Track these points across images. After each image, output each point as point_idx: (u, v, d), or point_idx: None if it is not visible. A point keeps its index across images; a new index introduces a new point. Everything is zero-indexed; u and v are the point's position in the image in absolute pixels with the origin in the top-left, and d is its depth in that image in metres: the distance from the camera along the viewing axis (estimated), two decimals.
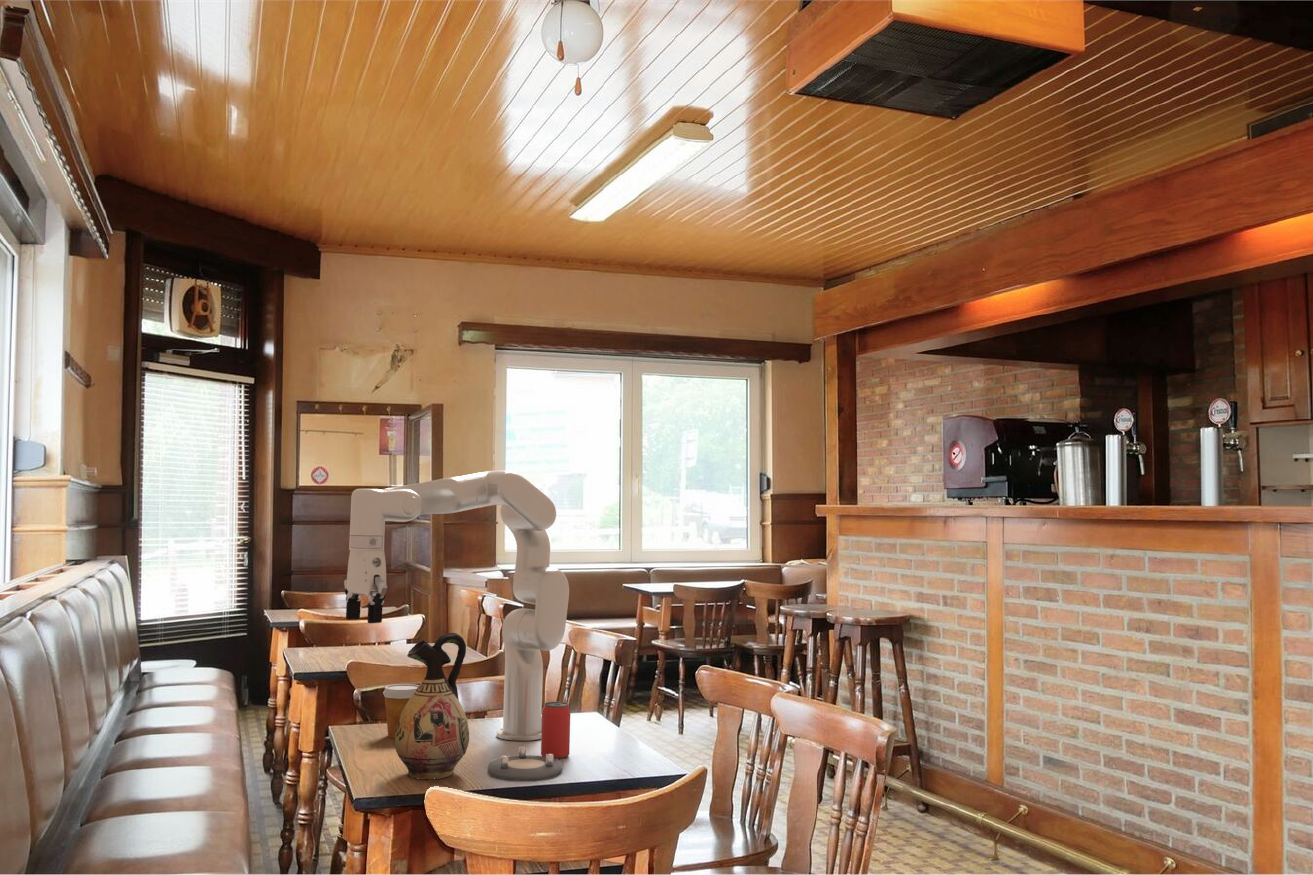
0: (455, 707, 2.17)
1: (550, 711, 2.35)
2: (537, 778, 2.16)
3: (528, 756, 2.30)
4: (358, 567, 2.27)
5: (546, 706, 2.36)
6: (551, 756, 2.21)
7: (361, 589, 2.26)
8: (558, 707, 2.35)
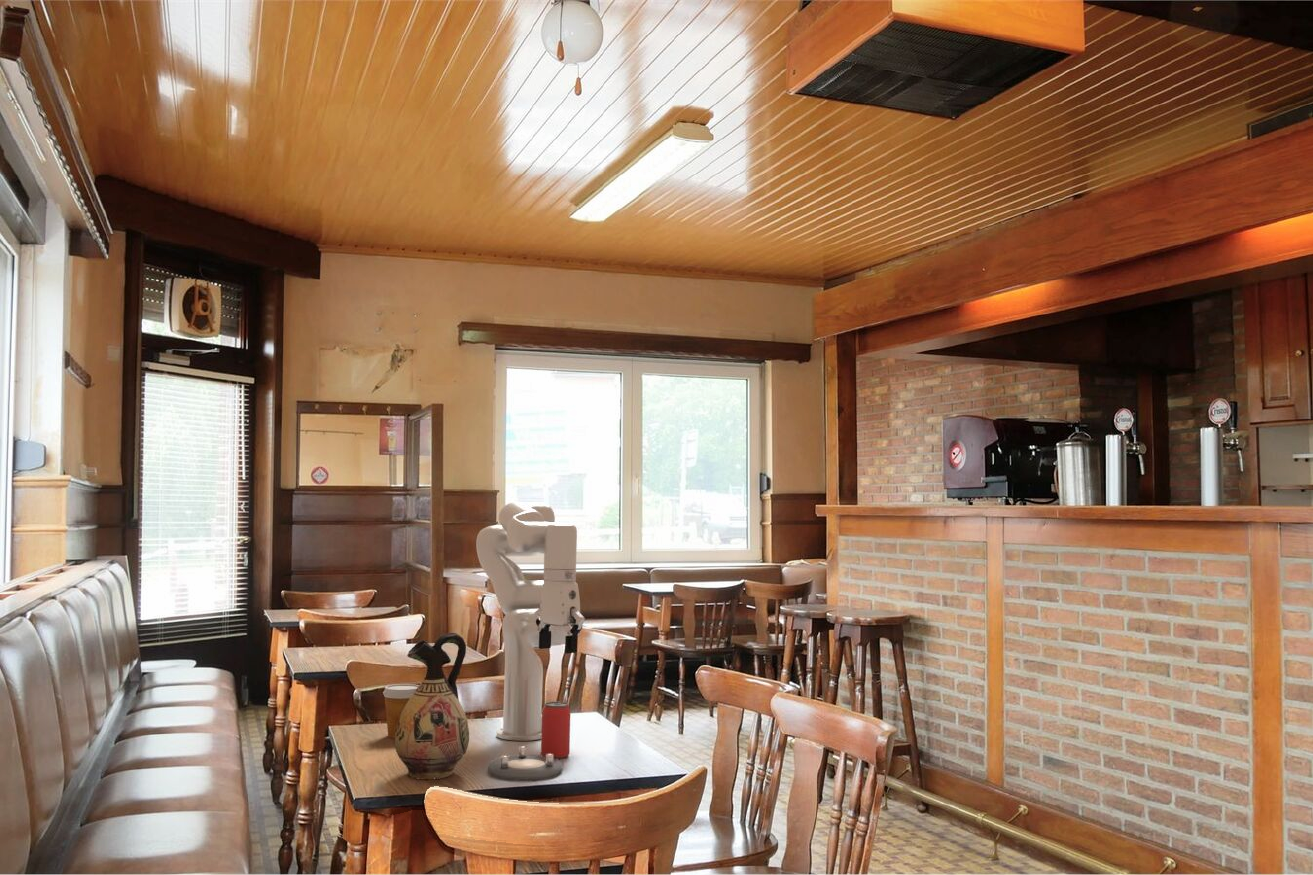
0: (455, 707, 2.17)
1: (550, 711, 2.35)
2: (537, 778, 2.16)
3: (528, 756, 2.30)
4: (554, 599, 2.37)
5: (546, 706, 2.36)
6: (551, 756, 2.21)
7: (557, 621, 2.36)
8: (558, 707, 2.35)
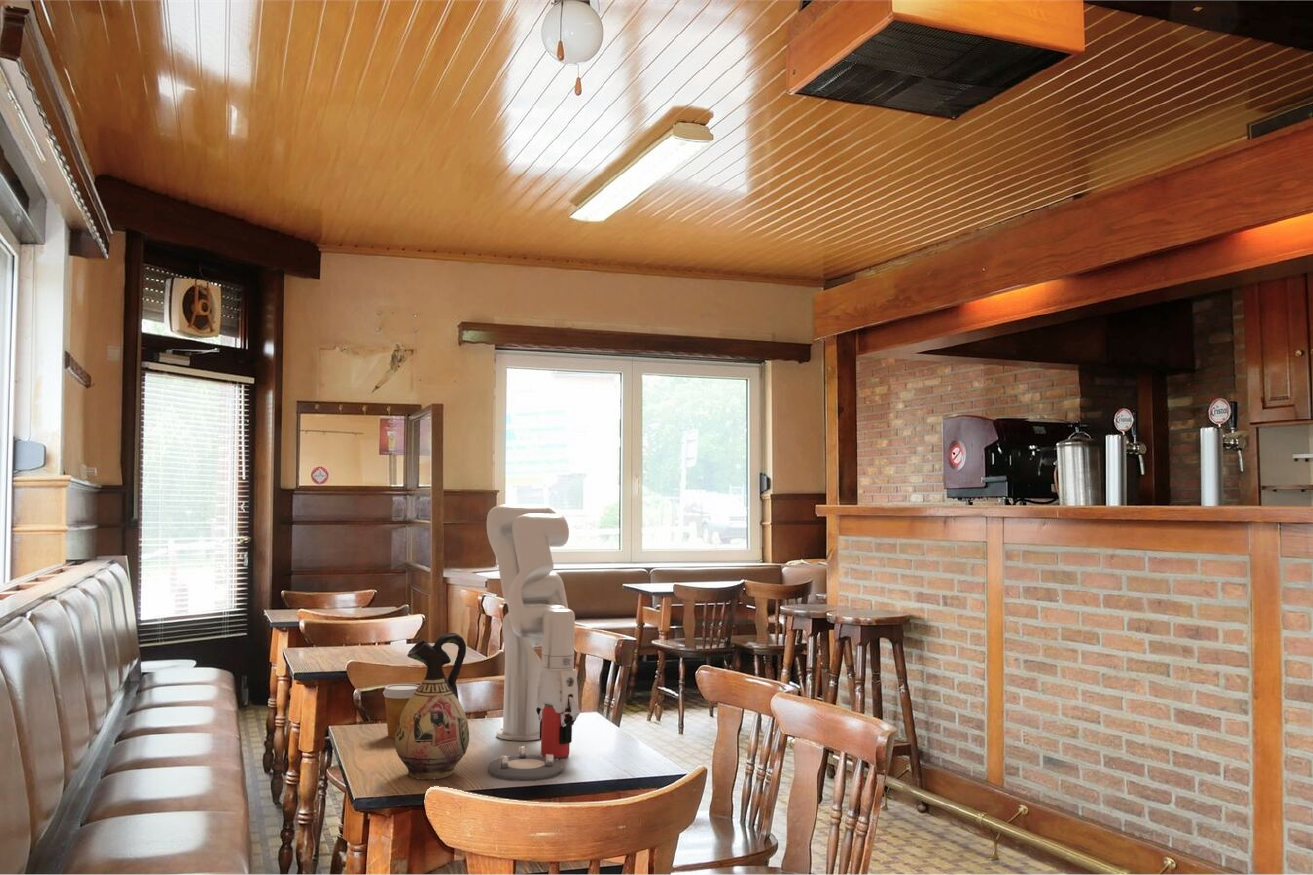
0: (455, 707, 2.17)
1: (550, 711, 2.35)
2: (537, 778, 2.16)
3: (528, 756, 2.30)
4: (551, 686, 2.36)
5: (546, 706, 2.36)
6: (551, 756, 2.21)
7: (555, 708, 2.35)
8: None
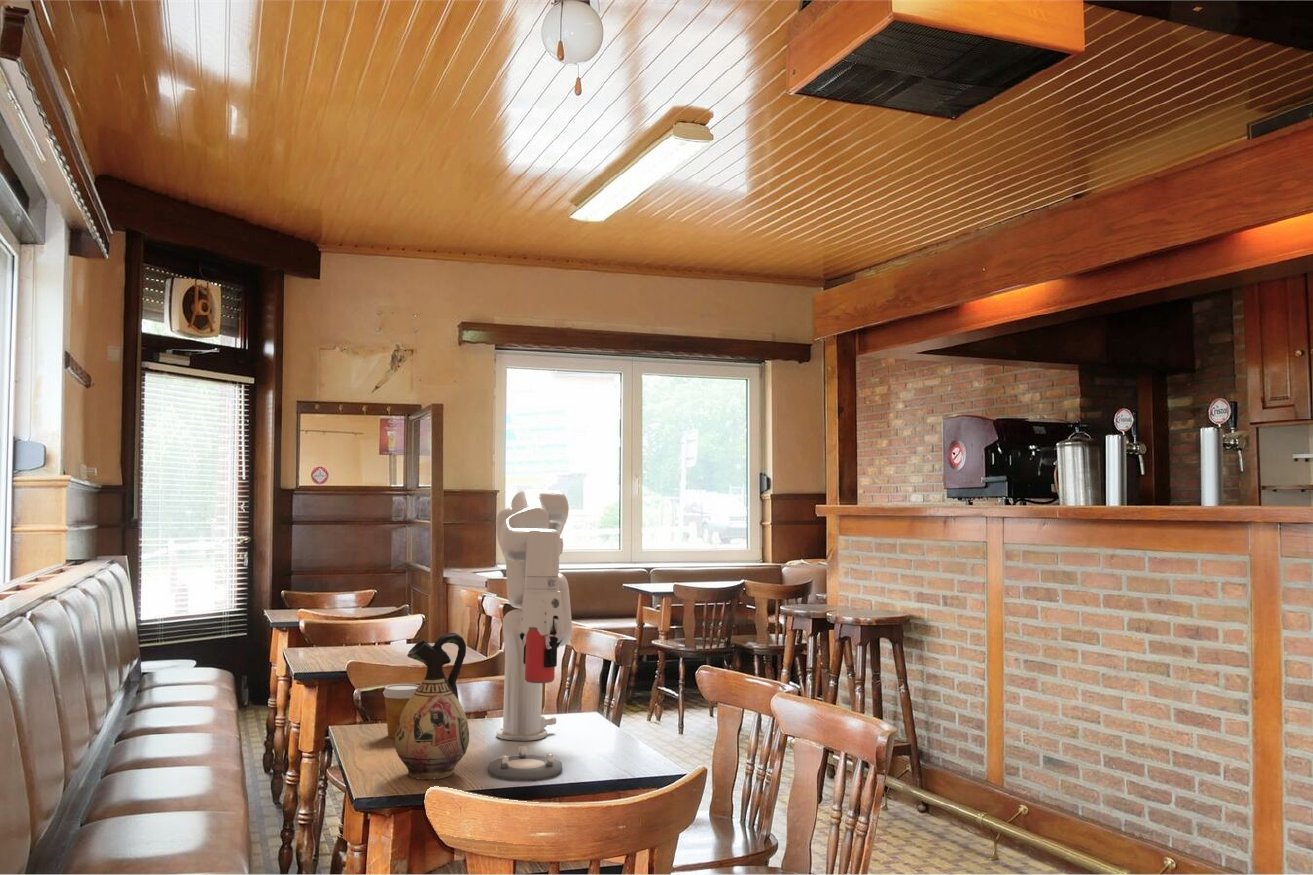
0: (455, 707, 2.17)
1: (535, 634, 2.27)
2: (537, 778, 2.16)
3: (528, 756, 2.30)
4: (536, 608, 2.28)
5: (530, 629, 2.29)
6: (551, 756, 2.21)
7: (540, 631, 2.27)
8: None
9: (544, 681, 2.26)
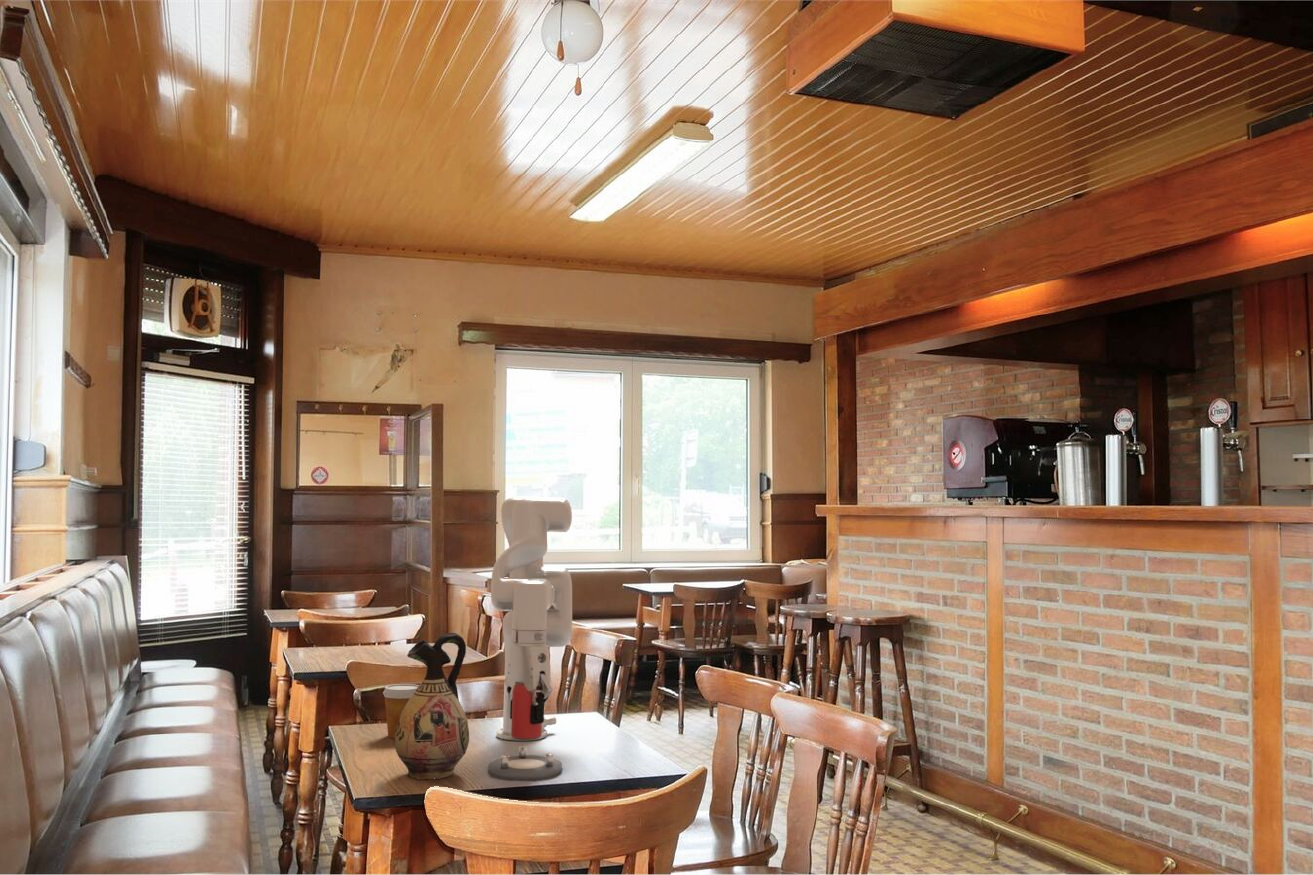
0: (455, 707, 2.17)
1: (521, 689, 2.21)
2: (537, 778, 2.16)
3: (528, 756, 2.30)
4: (522, 663, 2.22)
5: (517, 684, 2.23)
6: (551, 756, 2.21)
7: (526, 686, 2.21)
8: None
9: (530, 738, 2.21)
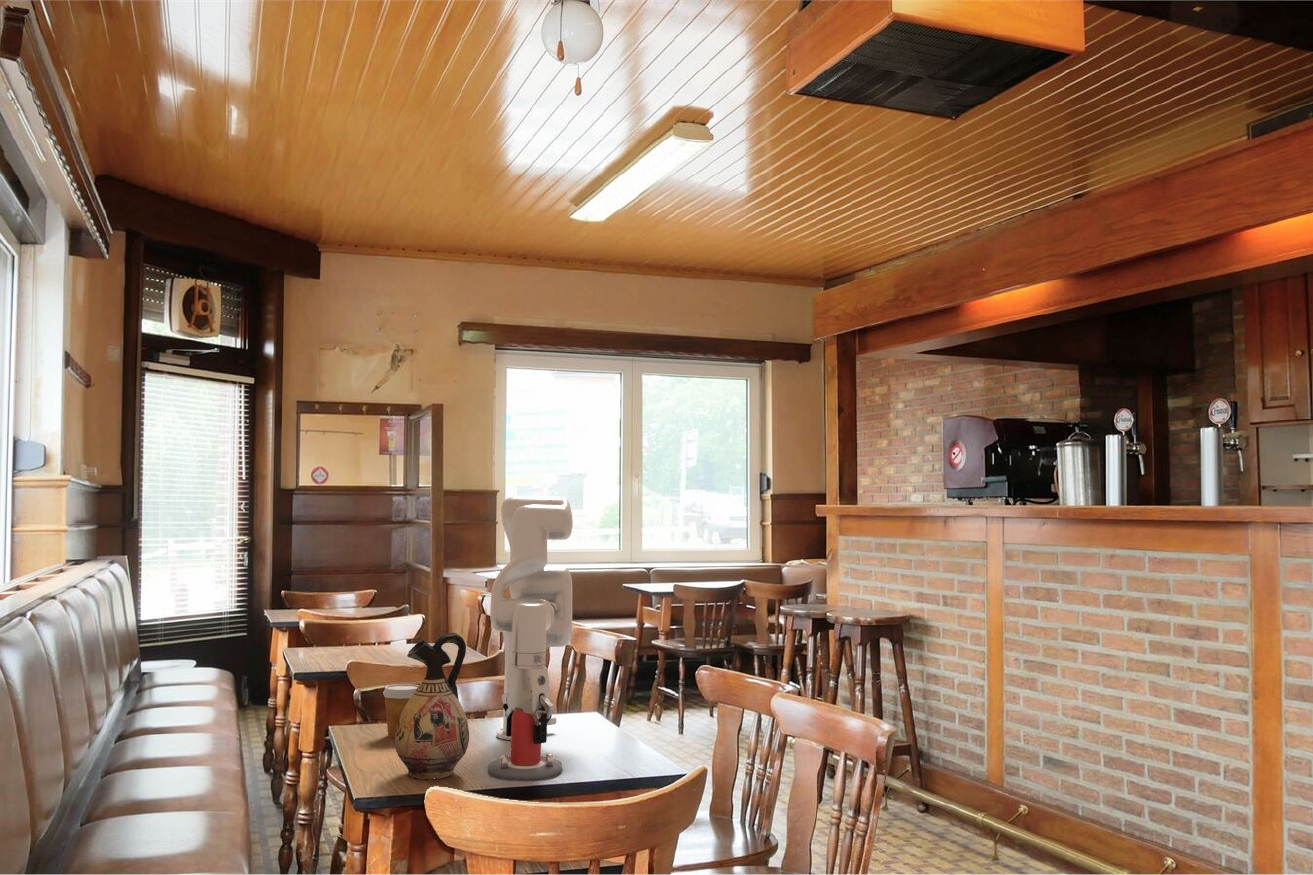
0: (455, 707, 2.17)
1: (520, 715, 2.21)
2: (537, 778, 2.16)
3: None
4: (522, 685, 2.22)
5: (516, 710, 2.23)
6: (551, 756, 2.21)
7: (525, 708, 2.21)
8: None
9: (530, 764, 2.21)
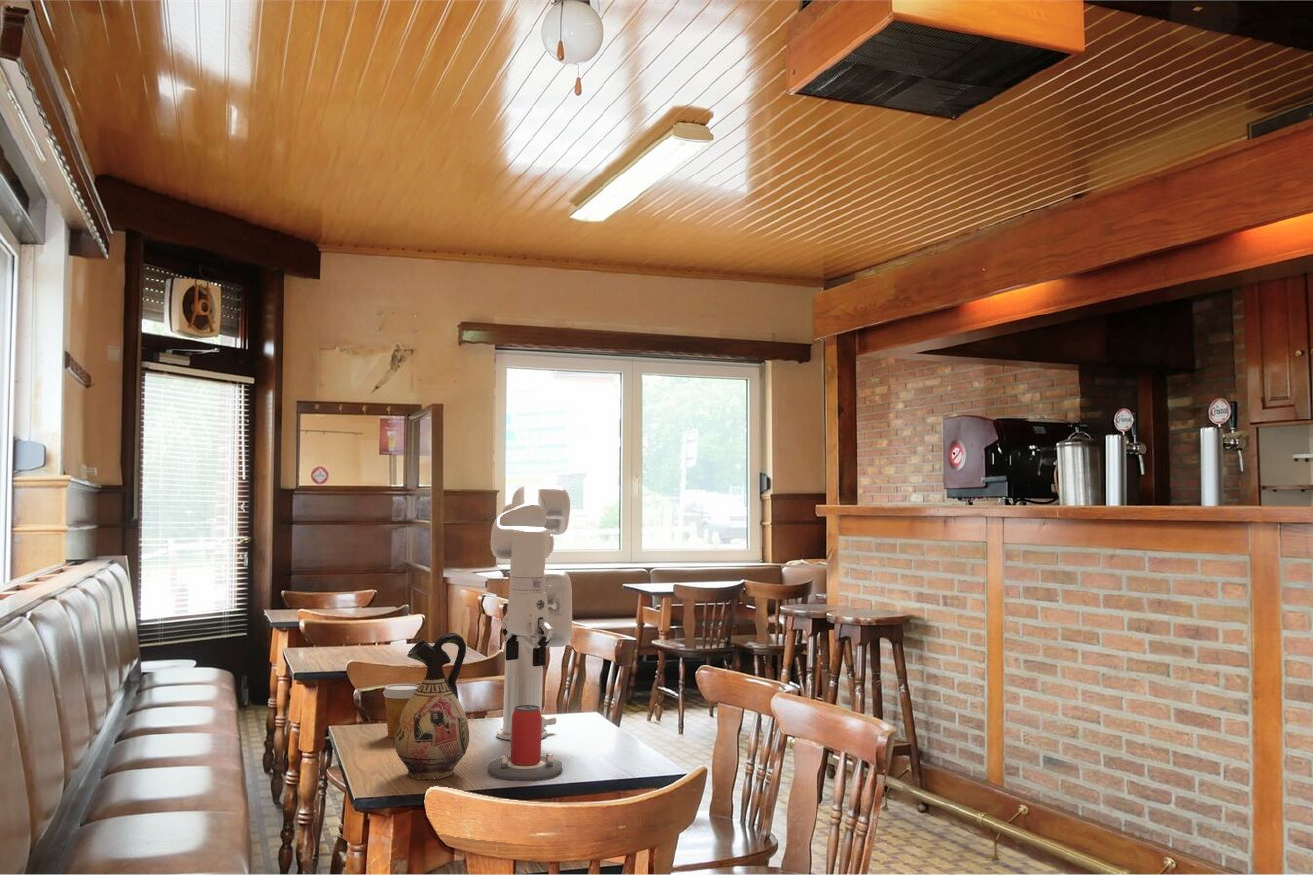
0: (455, 707, 2.17)
1: (520, 715, 2.21)
2: (537, 778, 2.16)
3: None
4: (521, 609, 2.25)
5: (516, 710, 2.23)
6: (551, 756, 2.21)
7: (525, 632, 2.24)
8: (529, 711, 2.22)
9: (530, 764, 2.21)
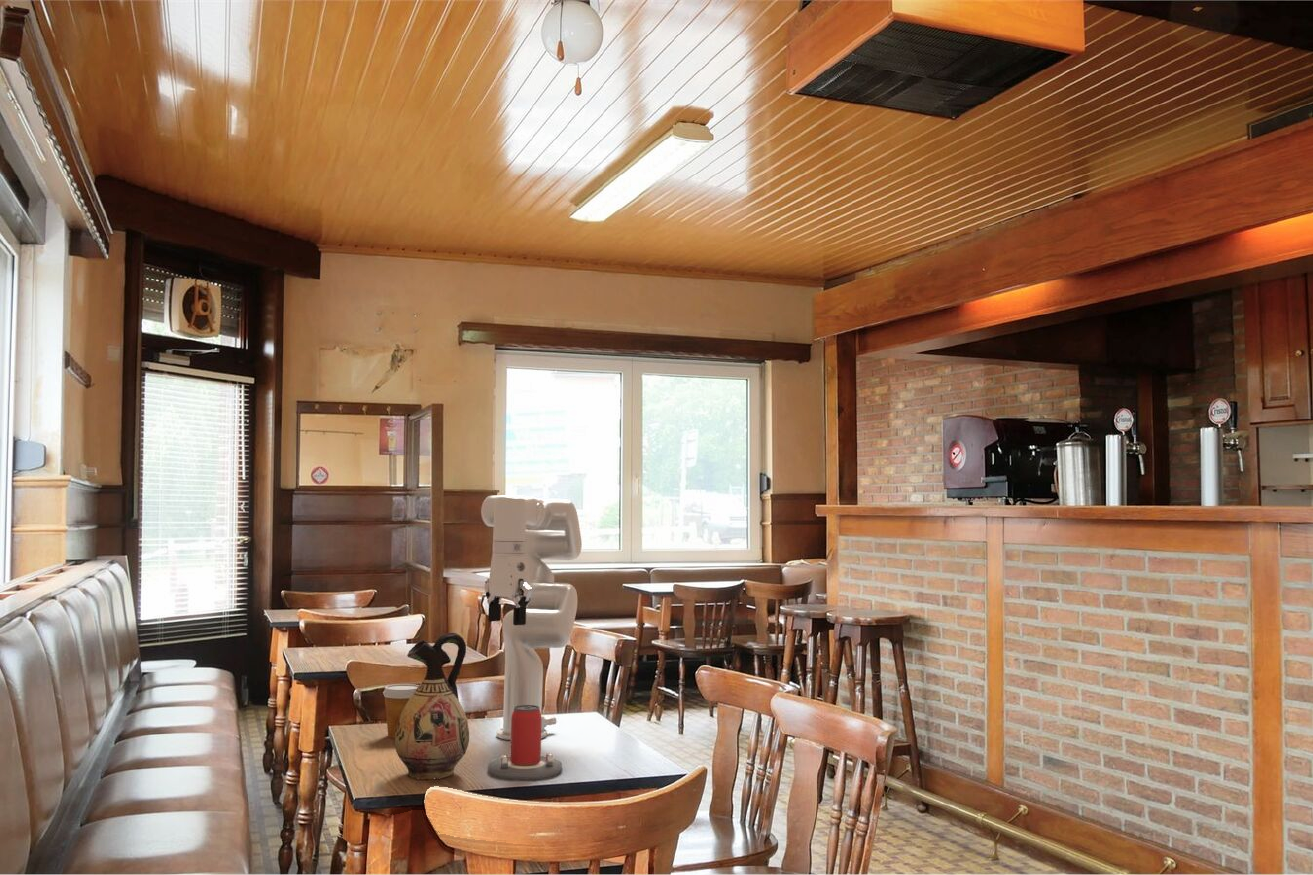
0: (455, 707, 2.17)
1: (520, 715, 2.21)
2: (537, 778, 2.16)
3: None
4: (502, 571, 2.37)
5: (516, 710, 2.23)
6: (551, 756, 2.21)
7: (506, 593, 2.36)
8: (528, 711, 2.22)
9: (530, 764, 2.21)
